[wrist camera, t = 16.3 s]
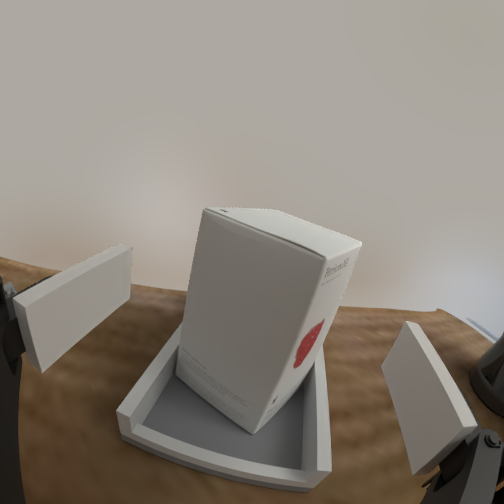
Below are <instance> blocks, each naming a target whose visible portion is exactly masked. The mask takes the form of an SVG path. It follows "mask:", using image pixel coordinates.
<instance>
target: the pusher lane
mask: <svg viewBox="0 0 504 504" xmlns="http://www.w3.org/2000/svg"><path fill="white" fill-rule="evenodd" d="M182 322H183V321H182ZM181 329H182V323H181V324H180V325H179V327H178V328H177V329H176V331H175V332H174V333H173V335H172V336H171V337H170V339H169V340H168V341H167V343H166V344H165V345H164V347H163V348H162V349H161V351H160V352H159V353H158V355H157V356H156V357H155V359H154V360H153V361H152V363H151V364H150V365H149V367H148V368H147V369H146V371H145V372H144V373H143V375H142V376H141V377H140V379H139V380H138V381H137V383H136V384H135V386H134V387H133V388H132V390H131V391H130V392H129V394H128V395H127V396H126V398H125V399H124V400H123V402H122V403H121V405H120V406H119V407H118V409H117V410H116V413H117V418H118V423H119V428H120V433H121V437H122V440H124V441H126V442H128V443H130V444H132V445H134V446H136V447H138V448H140V449H143V450H145V451H147V452H149V453H152V454H154V455H156V456H159V457H161V458H164V459H166V460H169V461H172V462H174V463H177V464H180V465H182V466H185V467H188V468H191V469H194V470H197V471H200V472H204V473H207V474H210V475H214V476H217V477H221V478H225V479H229V480H233V481H237V482H241V483H246V484H251V485H256V486H261V487H267V488H273V489H280V490H287V491H296V492H306V493H308V492H309V491H310V490H312V489H313V488H314V487H315V486H316V485H317V484H319V483H320V482H321V481H322V480H323V479H324V478H325V477H326V476H327V475H329V474H330V473H331V472H332V463H331V439H330V422H329V407H328V394H327V383H326V372H325V362H324V353H323V344H322V346H321V348H320V350H319V353H318V355H317V357H316V359H315V361H314V363H313V365H312V367H311V369H310V371H309V373H308V375H307V377H306V379H305V381H304V383H303V385H302V386H301V387H300V388H299V389H298V390H297V392H296V393H295V394H294V395H293V396H292V397H291V398H290V399H289V400H288V401H287V402H286V403H285V404H284V406H283V407H282V408H281V409H280V410H279V411H278V412H277V413H276V414H275V415H274V416H273V417H272V418H271V419H270V420H269V421H268V422H267V423H266V424H265V425H264V426H262V427H261V428H260V429H259V430H258V431H257V432H256V433H255V434H251V433H249V432H248V431H246V430H245V429H243V428H242V427H240V426H239V425H238V424H236V423H235V422H233V421H232V420H231V419H229V418H228V417H227V416H225V415H224V414H223V413H221V412H220V411H219V410H217V409H216V408H215V407H213V406H212V405H211V404H210V403H208V402H207V401H206V400H205V399H203V398H202V397H201V396H200V395H198V394H197V393H196V392H195V391H194V390H192V389H191V388H190V387H189V386H188V385H186V384H185V383H184V382H183V381H182V380H181V379H180V378H178V377H177V376H176V374H175V373H176V366H177V358H178V350H179V343H180V336H181Z"/></svg>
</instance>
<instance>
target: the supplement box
mask: <svg viewBox="0 0 504 504" xmlns="http://www.w3.org/2000/svg"><path fill="white" fill-rule="evenodd" d="M361 246H362V242H360V241H357V240H355V239H353V238H351V237H348V236H345V235H343V234H341V233H338V232H335V231H332V230H329V229H327V228H324V227H321V226H318V225H316V224H313V223H311V222H308V221H305V220H303V219H300V218H297V217H295V216H292V215H289V214H287V213H284V212H281V211H278V210H275V209H254V208H204V209H203V213H202V218H201V223H200V227H199V232H198V237H197V243H196V247H195V253H194V258H193V264H192V269H191V274H190V280H189V286H188V291H187V297H186V303H185V310H184V316H183V322H182V329H181V336H180V343H179V350H178V358H177V366H176V373H175V374H176V376H177V377H178V378H180V379H181V380H182V381H183V382H184V383H185V384H186V385H188V386H189V387H190V388H191V389H192V390H194V391H195V392H196V393H197V394H198V395H200V396H201V397H202V398H203V399H205V400H206V401H207V402H208V403H210V404H211V405H212V406H213V407H215V408H216V409H217V410H219V411H220V412H221V413H223V414H224V415H225V416H227V417H228V418H229V419H231V420H232V421H233V422H235V423H236V424H238V425H239V426H240V427H242V428H243V429H245V430H246V431H248V432H249V433H251V434H255V433H256V432H257V431H258V430H259V429H260V428H261V427H262V426H264V425H265V424H266V423H267V422H268V421H269V420H270V419H271V418H272V417H273V416H274V415H275V414H276V413H277V412H278V411H279V410H280V409H281V408H282V407H283V406H284V404H285V403H286V402H287V401H288V400H289V399H290V398H291V397H292V396H293V395H294V394H295V393H296V392H297V390H298V389H299V388H300V387H301V386H302V385H303V383H304V381H305V379H306V377H307V375H308V373H309V371H310V369H311V367H312V365H313V363H314V361H315V359H316V357H317V355H318V353H319V350H320V348H321V346H322V344H323V342H324V340H325V337H326V335H327V333H328V331H329V328H330V326H331V324H332V321H333V319H334V317H335V314H336V312H337V310H338V307H339V305H340V302H341V300H342V297H343V295H344V292H345V290H346V287H347V284H348V282H349V279H350V277H351V274H352V271H353V269H354V266H355V263H356V260H357V257H358V255H359V252H360V249H361Z"/></svg>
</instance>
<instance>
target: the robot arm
mask: <svg viewBox="0 0 504 504" xmlns="http://www.w3.org/2000/svg"><path fill="white" fill-rule="evenodd" d="M132 251H133V248H132V247H130V246H127V245H124V244H118V245H115V246H113V247H111V248H109V249H107V250H105V251H103V252H100V253H98V254H96V255H95V256H92V257H90V258H88V259H86V260H84V261H82V262H80V263H78V264H76V265H74V266H72V267H70V268H68V269H66V270H64V271H62V272H60V273H58V274H56V275H53V276H49V277H46V278H44V279H42V280H40V281H39V282H38V283H35V284H33V285H31V287H27V288H25V289H24V290H22V291H20V292H18V293H16V294H15V295H13V296H11V297H9V298H8V299H6V298H5V293H4V288H3V282H2V278H1V276H0V504H26V502H25V497H24V491H23V485H22V478H21V470H20V459H19V444H18V404H19V388H20V377H21V369H22V357H21V354H22V353H23V352H25V351H26V354H27V357H28V360H29V363H30V364H31V365H33V366H34V367H35V368H37V369H38V370H39V371H41V372H42V373H43V372H44V371H45V370H46V369H48V368H49V367H50V366H51V365H52V364H53V363H54V362H55V361H56V360H58V359H59V358H60V357H61V356H62V355H63V354H64V353H66V352H67V351H68V350H69V349H70V348H71V347H72V346H74V345H75V344H76V343H77V342H78V341H79V340H81V339H82V338H83V337H84V336H85V335H86V334H88V333H89V332H90V331H91V330H92V329H93V328H95V327H96V326H97V325H98V324H99V323H101V322H102V321H103V320H104V319H105V318H107V317H108V316H109V315H110V314H111V313H113V312H114V311H115V310H116V309H117V308H119V307H120V306H121V305H122V304H124V303H125V302H126V301H127V300H128V299H130V286H131V266H132ZM381 368H382V371H383V374H384V377H385V380H386V383H387V386H388V389H389V392H390V395H391V398H392V401H393V404H394V408H395V411H396V414H397V418H398V421H399V425H400V428H401V432H402V435H403V439H404V443H405V447H406V450H407V454H408V458H409V463H410V467H411V471H412V475H420V474H427V473H429V472H430V471H431V470H433V469H434V468H435V467H436V466H437V465H438V464H439V466H440V471H439V472H438V473H436V474H435V475H434V476H433V477H431V478H430V479H429V480H428V481H426V482H425V483H424V484H423V485H422V486H421V487H423V488H424V487H425V486H426V485H428V484H429V483H431V484H430V486H429V487H428V488H427V489H426V490H427V492H426V494H425V496H424V498H423V500H422V501H421V503H420V504H504V486H503V487H502V488H501V489H500V490H498V491H497V492H496V490H495V488H496V486H498V485H499V484H500V483H501V482H502V481H504V443H502V440H501V438H500V437H499V435H498V434H497V433H496V432H495V431H493V430H491V429H484V430H483V429H482V427H481V425H480V423H479V421H478V419H477V418H476V416H475V414H474V412H473V410H472V408H471V406H469V405H470V404H469V402H468V401H467V399H466V397H465V395H464V393H463V392H462V390H461V388H460V387H459V386H458V385H457V384H456V383H455V382H454V380H453V378H452V377H451V375H450V373H449V372H448V370H447V368H446V367H445V365H444V363H443V362H442V360H441V358H440V357H439V355H438V354H437V352H436V350H435V349H434V347H433V346H432V344H431V343H430V341H429V340H428V338H427V337H426V335H425V334H424V332H423V331H422V329H421V328H420V326H419V325H418V324H417V323H412V322H408V321H405V323H404V325H403V327H402V329H401V331H400V333H399V335H398V337H397V339H396V341H395V342H394V344H393V346H392V348H391V350H390V352H389V353H388V355H387V357H386V359H385V360H384V362H383V364H382V366H381ZM470 380H471V383H472V386H473V388H474V390H475V391H476V393H477V394H478V396H479V397H480V398H481V399H482V401H483V402H484V403H485V404H486V405H487V406H488V407H489V408H491V409H492V410H493V411H494V412H496V413H497V414H499V415H501V416H503V417H504V333H503V335H502V336H501V337H500V339H499V340H498V341H497V342H496V343H495V344H494V345H493V346H492V347H491V348H490V349H489V350H488V351H487V352H486V353H485V354H484V355H483V356H482V357H480V358H479V360H478V361H477V362H476V364H475V365H474V367H473V368H472V370H471V372H470Z"/></svg>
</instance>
